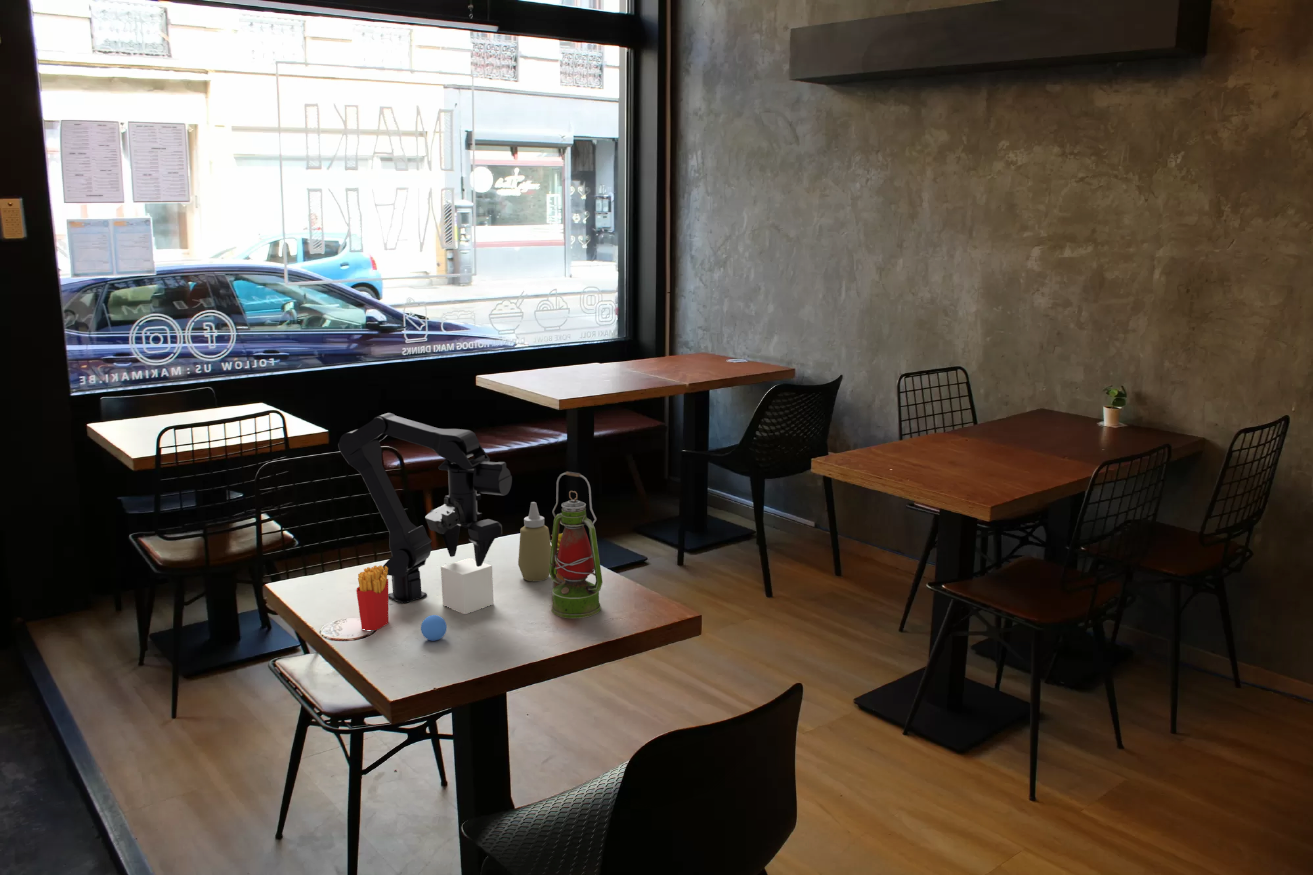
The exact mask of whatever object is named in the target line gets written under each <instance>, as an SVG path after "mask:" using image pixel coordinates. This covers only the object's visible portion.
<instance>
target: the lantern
mask: <svg viewBox="0 0 1313 875" xmlns="http://www.w3.org/2000/svg"><path fill="white" fill-rule="evenodd" d="M564 475H566V476H569V477H576V478H582V479H583V480H585V482H586V484H587V487H588V494H589V495H588V496H589V497H588V498H589V510H590V512H591V514H592V517H593V519H594V520H593V521H592V520H591V519H589V518H588V517H587V511H586V510H587V508H586V505H587V504H586V503H585V502H583V501H581V500H578V493H577V491H575V490H574V491H573V490H570V491H569V492H568V497H569V499H570V500H568V501H565V502H562V503H561V507H562V508H561V512H560V513H557V514H556V513H555V511H556V509H557V507H558V504H559V482H560V479H561V478H562V476H564ZM571 493H575V494H576V495H575V496H576V497H575V498H574V499H573V498H572V497H571ZM555 494H556V497H555V499H556V501H555V502H556V503H555V505H554V507H553V509H552V515H553V517H554V519H553V526H552V534H551V537H552V538H551V555H550V564H549V573H550V574H549V577H550V580H551V581H552V582H554V583H555V584H557V585H555V586H554V587H553V588H552V591H551V593H552V597H551V598H552V604H551V613H553V615H554V616H558V617H560V618H566V619H584V618H588V617H593V616H594V614H595V615H597V614H598V613H600V611H601V609H602V607H601V603H600V591H601V589H602V586H603V576H602V569H601V563H600V562H601V561H600V560H601V559H600V555H599V554H600V553H599V548H598V541H597V540H598V539H597V533H596V528H595V526H594V525H595V523H596V521H597V517H596V515H595V513H594V510H593V504H592V490H591V485H590V482H589V481H588V479H587V477H585V476H584V475H582V474H581V473H580V472H572V471H565V472H563V473H561V474H559V476H558V477H557V480H556V493H555ZM561 525H562V526H564V529H563V531H562V535H561V539H560V541H559V534H560V526H561ZM585 526H587V528H588V532H589V533H588V534H589V536H588V534H587V531H586V528H585ZM558 545H559V547H558ZM557 574H558V575H560V576H561V577H562V579H563V580H562V579H560V578H559V577H557V576H558V575H557ZM590 575H593V576H595V583H592V582H590V581H588V580H587V578H588V577H589V576H590Z"/></svg>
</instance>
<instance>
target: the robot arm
mask: <svg viewBox="0 0 1313 875" xmlns="http://www.w3.org/2000/svg"><path fill="white" fill-rule="evenodd" d="M476 435H477V434H476V433H475V432H473V431H472V430H470V429H462V428H461V429H460V428H438V427H434V426H432V425H429V424H426V423H422V422H418V421H415V420H411V419H407V418H404V417H402V416H397V415H395V414H394V413H391V412H387V413H384V414H381V415H377V416H375V417H374V418H373V419H372V420H370V421H369V422H368V423H366V424H365V425H362V426H361V427H359V428H357V429H354V430H351V431H349V432H345V433H344V434H342V435H341V437H340V438H339V442H338V444H337V446H338V447H337V448H338V450H339V452H340V453H341V455H342V456H343V458H344V459H345V461H346V462H347V464H348V465H349V466H351V467H352V468H354V469H355V471H357V472H358V473H359V474H360V475H361V477H362V479H363V482H364V483H365V485H366V487H367V489H368V491H369V494H370V495H371V498H372V499H373V501H374V503H375V505H376V508H377V509H378V512H379V514H380V516H381V518H382V519H383V522H384V524H385V526H386V528H387V530H388V532H389V536H388V538H389V540H388V541H389V544H388V546H389V550H390V553H391V557H389V559H387V561H386V562H385V563H384V564H383V565H382V566H383V568H384V569H385V566H386V567H387V568H388V574H387V576H391V583H392V584H391V585H392V586H391V587H392V592H390V593H388V599H392V600H394V601H397V602H398V603H401V604H406V603H409V602H413V601H415V600H419V599H421V598H425V597H427V596H428V593H427V592H424V591H423V590H422V581H421V580H422V578H421V571H420V568H421V567H423V566H425V565H426V561H427V559H428V558H429V557H430V556H431V552H432V550H433V549H432V545H431V542H432V539H431V538H430V537H429V536H428V533H427V530H426V528H425V526H424V525H420V526H416V525H415V524H414V523H412V522H411V520H410V518H409V516H408V515H407V512H406V510H405V508H404V506H403V504H402V502H401V501H400V498H399V496H398V494H397V491H396V490H395V488H394V486H393V484H392V481H391V480H390V478H389V476H388V473H387V471H386V470H385V468H384V466H383V463H382V462H383V461H382V457H383V456H382V452H383V451H382V446H381V443H380V442H381V441H382V440H384V439H385V438H386V437H387V436H388V437H392V438H396V439H399V440H402V441H406V442H408V443H412V444H414V445H419V446H422V447H425V448H428V449H430V450H433V452H435V453H436V454H437V455H438V456H439V457H440V458H443V459H444V461H443V462H442V463H441V464H439V466H438V469H439V471H440V470H441V471H447V472H448V473H447V475H448V476H447V477H448V480H447V481H448V495H445V496H444V498H443V504H442V505H441V506H438V507H437V508H434V509H431V510H429V511H428V513H427V514H426V515H425V517H424V518H425V521H426V523H427V526H428V528H429V530H430V531H431V532H436V533H437V534H440V536H441V537H442V540H443V542H444V545H445V547H446V550H447V552H448V555H449V557H451V558H454V557H455V556H456V554H457V549H458V543H459V536H460V530H461V527H463V528H464V529H468V530H467V532H468V535H469V537H468V541H469V542H470V543H471V544H473V549H474V550H473V553H474V560H475V561H476V566H477V567H479V566H481V565H482V564H483V563H484V561H485V559H486V557H487V554H488V553H489V550H490V548H491V546H492V544H493V543H494V541H495V539H498V538H499V537H500V536H502V535H503V525H502V524H501V522H499V521H496V520H493V519H490V518H487V519H483V520H479V519H482V515H483V513H482V512H479V511H478V501H480V500H482V495H481V494H487V495H495V496H506V495H508V494H509V492H510V490H511V488H512V483H513V476H512V475H511V471H510V470H509V468H507V463H506V462H505V461H498V462H495V461H490V460H491V458H490V457H489V455H488V454H487V453H486V450H484V448H483V446H482V445H481V444H480V441H479V438H478V437H477V436H476ZM470 457H473V458H470ZM469 458H470V459H469ZM477 492H478V493H477ZM478 520H479V521H478Z"/></svg>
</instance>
